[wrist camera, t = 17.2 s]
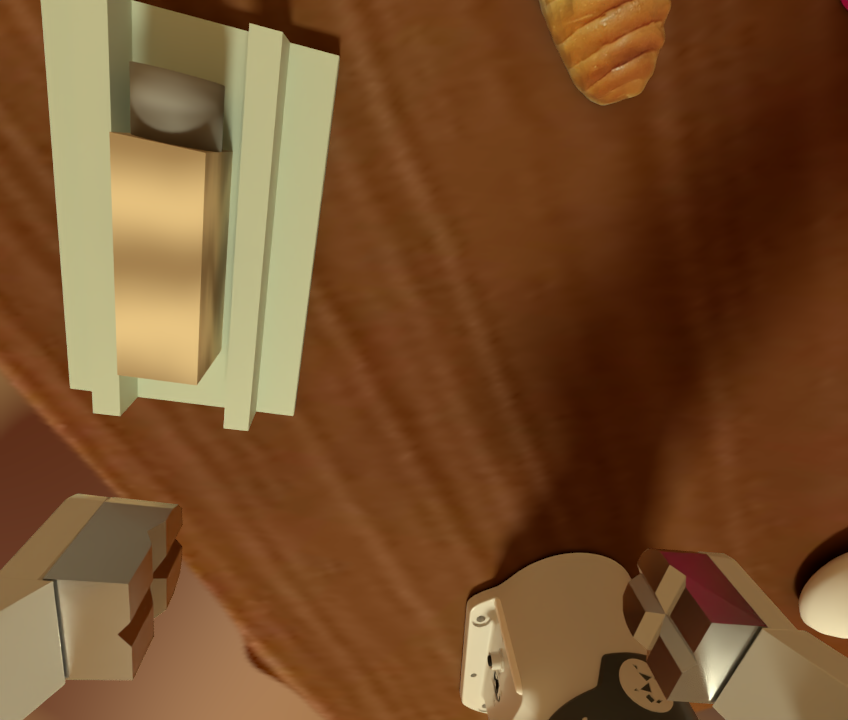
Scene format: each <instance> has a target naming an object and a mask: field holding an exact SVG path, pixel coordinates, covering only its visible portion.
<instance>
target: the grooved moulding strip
mask: <svg viewBox="0 0 848 720" xmlns="http://www.w3.org/2000/svg"><path fill="white" fill-rule="evenodd" d="M41 10H42V23H43V36H44V50H45V63H46V76H47V89H48V102H49V115H50V129H51V142H52V155H53V168H54V181H55V194H56V208H57V221H58V234H59V247H60V260H61V274H62V287H63V300H64V313H65V326H66V339H67V353H68V366H69V379H70V388H72V389H80V390H88V391H92V401H93V413H98V414H106V415H115V416H121V415H122V414H123V413H124V411H125V410H126V409H127V408H128V407H129V406H130V405H131V404H132V403H133V401H134V400H135V399H136V398H137V397H145V398H153V399H161V400H169V401H177V402H185V403H193V404H201V405H209V406H217V407H225V413H224V428H227V429H235V430H244V431H248V430H249V428H250V425H251V423H252V420H253V418H254V415H255V413H256V411H258V412H266V413H274V414H282V415H290V416H293V415H294V411H295V406H296V398H297V390H298V383H299V375H300V367H301V359H302V351H303V344H304V336H305V328H306V320H307V312H308V304H309V297H310V289H311V281H312V273H313V265H314V258H315V250H316V242H317V234H318V226H319V219H320V211H321V203H322V195H323V187H324V180H325V172H326V164H327V156H328V148H329V140H330V133H331V125H332V117H333V109H334V101H335V94H336V86H337V78H338V70H339V62H340V57H339V56H338V55H334V54H331V53H327V52H323V51H320V50H316V49H312V48H308V47H305V46H301V45H297V44H294V43H290V42H289V40H288V39H287V37H286V36H285V34H284V33H283V32H281V31H277V30H273V29H270V28H266V27H262V26H259V25H255V24H251V23H249V31H245V30H241V29H238V28H234V27H230V26H227V25H223V24H219V23H215V22H212V21H208V20H204V19H200V18H197V17H193V16H189V15H186V14H182V13H178V12H174V11H171V10H167V9H163V8H160V7H156V6H152V5H148V4H145V3H141V2H137V1H133V0H41ZM129 61H133V62H138V63H143V64H148V65H152V66H156V67H160V68H164V69H168V70H172V71H176V72H180V73H184V74H188V75H191V76H195V77H198V78H202V79H205V80H209V81H212V82H215V83H219V84H221V85H224V86H225V99H224V119H223V139H222V149H223V150H228V151H232V152H233V158H232V175H231V193H230V210H229V227H228V245H227V262H226V279H225V297H224V314H223V331H222V349H221V351H220V353H219V354H218V356H217V357H216V359H215V360H214V362H213V363H212V364H211V366H210V367H209V369H208V370H207V372H206V373H205V375H204V376H203V377H202V379H201V380H200V382H199V383H198V385H190V384H182V383H175V382H167V381H159V380H152V379H144V378H136V377H129V376H121V375H117V348H116V318H115V287H114V257H113V227H112V197H111V167H110V137H109V132H122V133H131V131H130V75H129Z"/></svg>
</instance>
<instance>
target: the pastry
mask: <svg viewBox="0 0 848 720" xmlns="http://www.w3.org/2000/svg"><path fill="white" fill-rule="evenodd" d="M539 3H540V8H541V11H542V13H543V15H544V18H545V20H546V22H547V27H548V29H549V31H550V33H551V36H552V39H553V42H554V44H555V46H556V48H557V50H558V52H559V54H560V56H561V58H562V60H563V62H564V65H565V67H566V69H567V71H568V73H569V75H570V77H571V79H572V81H573V83H574V85H575V86H576V88H577V89H578V90H579V91H581V92H582V93H583V94H584V95H585V96H586V97H587V98H588V99H589V100H591V101H592V102H594V103H596V104H599V105H607V104H611V103H616V102H618V101H621V100H623V99H627V98H631V97H634V96H636V95H638V94H640V93H641V92H642V91H643V89H644V88H645V85H646V83H647V82H648V80H649V78H650V77H651V76H652V75H653V72H654V69H655V66H656V60H657V57H658V54H659V51H660V49H661V47H662V46H663V44H664V42H665V37H666V36H665V31H664V23H665V20H666V18H667V16H668V13H669V11H670V8H671V0H539Z"/></svg>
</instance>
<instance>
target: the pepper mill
mask: <svg viewBox="0 0 848 720" xmlns="http://www.w3.org/2000/svg"><path fill="white" fill-rule="evenodd" d="M841 2H842V4H843V6H844V7H845V8H846V9H847V11H848V0H841Z"/></svg>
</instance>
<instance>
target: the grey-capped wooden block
mask: <svg viewBox="0 0 848 720" xmlns="http://www.w3.org/2000/svg"><path fill="white" fill-rule="evenodd" d="M129 75H130V131H131V133H122V132H109V137H110V167H111V197H112V227H113V257H114V287H115V318H116V348H117V375H121V376H129V377H136V378H144V379H152V380H159V381H167V382H175V383H182V384H190V385H198V383H199V382H200V380H201V379H202V377H203V376H204V375H205V373H206V372H207V370H208V369H209V367H210V366H211V364H212V363H213V362H214V360H215V359H216V357H217V356H218V354H219V353H220V351H221V349H222V331H223V314H224V297H225V279H226V262H227V245H228V227H229V210H230V193H231V175H232V158H233V152H232V151H228V150H223V149H222V139H223V119H224V99H225V86H224V85H221V84H219V83H215V82H212V81H209V80H205V79H202V78H198V77H195V76H191V75H188V74H184V73H180V72H176V71H172V70H168V69H164V68H160V67H156V66H152V65H148V64H143V63H138V62H133V61H129Z"/></svg>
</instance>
